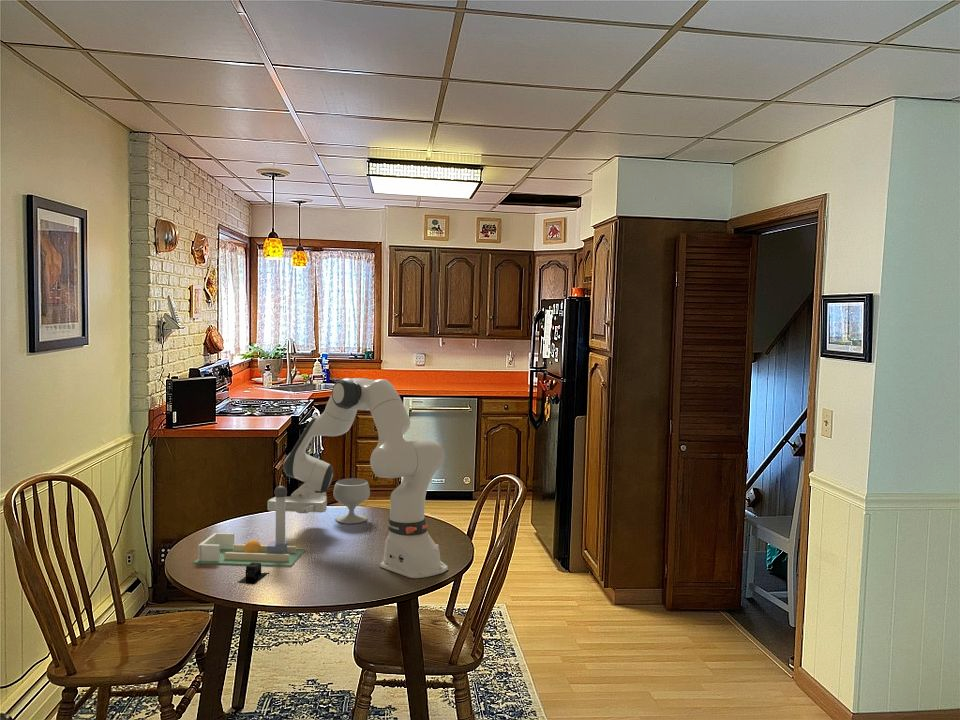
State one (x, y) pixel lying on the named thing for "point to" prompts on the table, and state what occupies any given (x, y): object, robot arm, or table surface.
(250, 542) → the ball
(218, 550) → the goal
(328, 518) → the table surface
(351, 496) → the chalice
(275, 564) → the pitch
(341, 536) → the table surface
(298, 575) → the table surface
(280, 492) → the lever
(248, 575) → the black boxy piece
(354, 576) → the table surface
